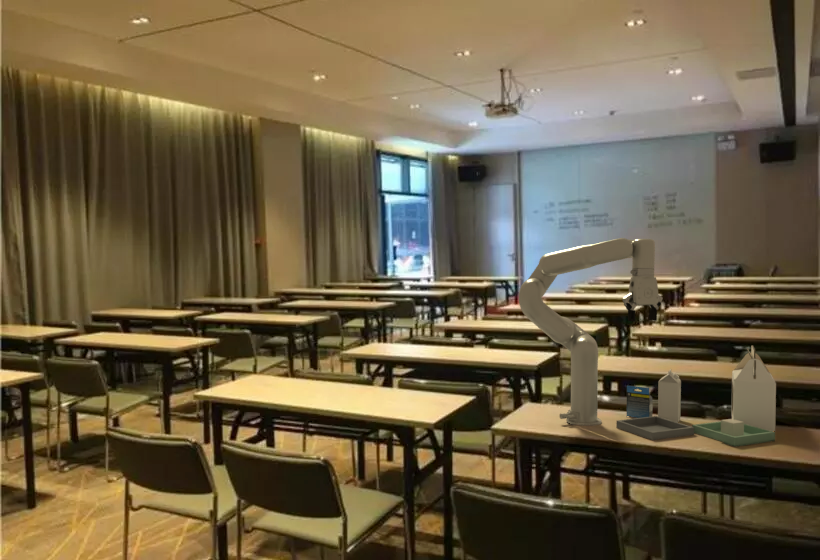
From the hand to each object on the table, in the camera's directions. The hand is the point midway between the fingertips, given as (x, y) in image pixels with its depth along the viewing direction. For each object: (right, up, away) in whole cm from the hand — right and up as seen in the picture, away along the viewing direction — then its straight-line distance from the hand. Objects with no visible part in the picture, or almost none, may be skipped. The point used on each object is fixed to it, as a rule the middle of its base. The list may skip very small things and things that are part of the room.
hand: (642, 320), depth 243 cm
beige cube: (+26, -38, -14) cm, 48 cm away
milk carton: (+13, -38, +9) cm, 41 cm away
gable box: (+42, -38, +5) cm, 57 cm away
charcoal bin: (+2, -38, -8) cm, 39 cm away
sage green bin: (+26, -39, -14) cm, 48 cm away
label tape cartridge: (+4, -38, +14) cm, 40 cm away
